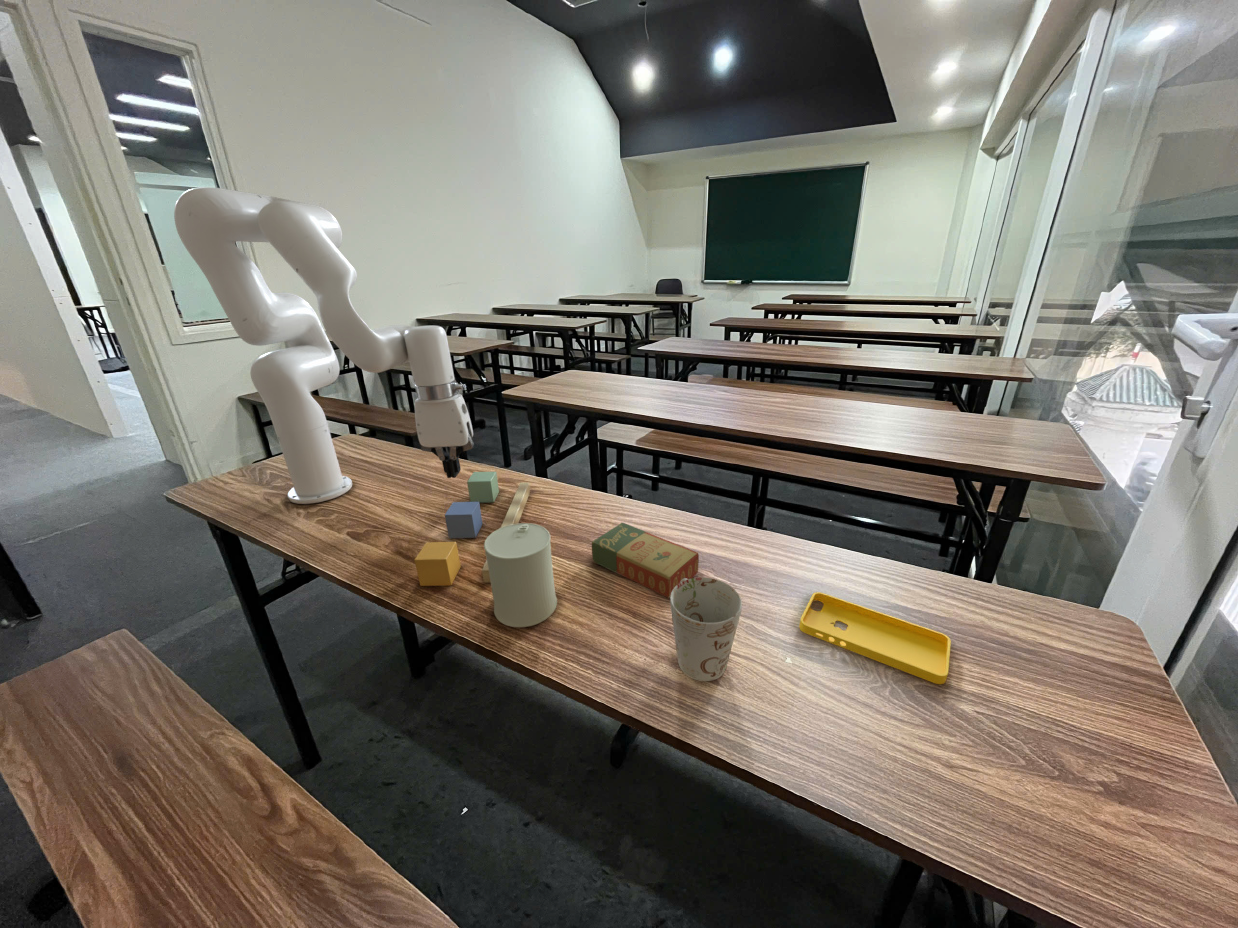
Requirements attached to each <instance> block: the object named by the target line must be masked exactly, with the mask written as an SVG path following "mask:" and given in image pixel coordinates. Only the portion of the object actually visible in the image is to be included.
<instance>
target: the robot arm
mask: <svg viewBox="0 0 1238 928" xmlns="http://www.w3.org/2000/svg"><path fill="white" fill-rule="evenodd" d="M173 217H174V225H175V228H176V232H177V234H178V236H179V239H180V241H181V242H182V244H183V246H184V248H185V249H186V251H187V252H188V254H189V255H190V257H191V258H192V260H193V261H194V262H195V263H196V265H197V267H198V268H199V269H200V270H201V272H202V273H203V275H204V276H205V278H206V280H207V282H208V283H209V285H210V287H211V289H212V291H213V293H214V295H215V297H216V299H217V300H218V302H219V304H220V306H221V308H222V310H223V312H224V313H225V315H226V317H227V319H228V320H229V322H230V324H231V326H232V328H233V329H234V331H235V332H236V334H237V336H238V337H239V338H240V339H241V340H242V341H243V342H245V343H246V344H248V345H251V346H261V347H262V346H269V345H274V344H279V343H284V342H285V343H286V344H287V346H288V347H285V348H281V349H277V350H273V351H270V352H267V353H264V354H262V355H259V357H258V358H256V359H255V360H254V362H253V363H252V365H251V367H250V379H251V382H252V383H253V386H254V388H255V389H256V391H257V393H258V395H259V396H260V398H261V399H262V402H263V403H264V405H265V408H266V409H267V412H268V414H269V417H270V420H271V423H272V426H273V428H274V432H275V434H276V439H277V440H278V443H279V446H280V450H281V453H282V456H283V459H284V462H285V464H286V468H287V470H288V475H289V477H290V480H291V483H292V486H293V487H292V488H291V489H290V490H289V491H288V493H287V498H288V500H289V501H290V502H291V503H293V504H297V505H298V504H299V505H310V504H317V503H323V502H326V501H329V500H332V499H336V498H339V497H341V496H342V495H344V494H346V493H347V492H349V491H350V490H351V489H352V487H353V481H352V479H351V478H350V477H349V476H347V475H343V474H342V471H341V468H340V464H339V460H338V456H337V453H336V449H335V446H334V442H333V439H332V434H331V431H330V428H329V424H328V421H327V417H326V415H325V412H324V410H323V408H322V407H321V405H320V404H319V403H318V401H317V400H316V399H315V398H314V397H313V396H312V392H313V391H316V390H319V389H322V388H325V387H328V386H329V385H331V384H333V383H334V382H335V381H337V379H338V377H339V376H340V371H341V370H340V363H339V360H338V356H337V354H336V352H335V349H334V348H333V345H332V343H331V342H330V339H331V341H332V342H333V343H334V345H335V346H336V347H337V348H338V349H339V350H340V351H341V352H342V353H343V354H344V355H345V357H346V358H347V359H349V361H350V362H351V363H353V364H354V365H355V366H356V367H358V368H359V369H361V370H362V371H365V372H368V373H372V374H378V373H383V372H386V371H388V370H391V369H394V368H397V367H399V366H403V365H406V364H408V363H409V366H410V370H411V375H412V380H413V384H414V388H415V394H416V399H415V400H414V419H415V428H416V433H417V439H418V442H419V445H420V450H421V451H423V452H427V453H432V454H433V455H435V456H436V457H437V458H438V459H439V461H442V462H441V463H442V468H443V472H444V474H446V478H447V479H451V478H452V479H455V478H457V477H458V475H459V474H460V472H461V471H462V467H461V463H460V458H459V456H460V455H461V454H462V453H463V452H465V451H469V450H472V449H474V447H475V443H474V441H473V437H474V430H473V425H472V420H471V418H470V412H469V410H468V407H467V405H466V402H465V399H464V397H463V395H462V394H460V393H459V392H463V391H464V384H463V383H457V380H456V378H455V374H454V368H453V361H452V357H451V352H450V351H451V350H450V346H449V341H448V336H447V332H446V330H445V329H444V328H443V326H440V325H420V326H409V325H404V324H392V325H387V326H381V327H377V328H373V329H371V327H369V326H368V324H367V323H366V322H365V321H364V320H363V318H361V317H362V316H360V315H359V313H357V311H356V309H355V308H354V306H353V303H352V301H351V299H350V290H351V289H352V288H353V286H354V285H355V284H356V282H357V280H358V273H357V270H356V269H355V267H354V266H353V265H352V263H350V262H349V260H348V259H347V258H346V257H345V256H344V255H343V253H342V252H341V251H340V250H339V248H340V247H341V246H342V243H343V231H342V228H341V224H340V223H339V221H338V219H337V218H336V217H335V216H334V215H333V214H332V213H331V212H330V211H329V210H327V209H326V208H324V207H322V206H320V205H318V204H312V203H305V202H300V201H295V200H290V199H286V198H281V197H277V196H272V195H267V194H261V193H255V192H254V193H253V192H247V191H241V190H235V189H228V188H221V187H209V186H207V187H206V186H204V187H203V186H202V187H195V188H191V189H188V190H186V191H184V192H183V193H181V195H179V196H178V198H177V201H176V202H175V205H174V213H173ZM237 242H243V243H244V242H247V243H269V244H270V245H271V246H272V247H273V248H274V249H275V251H276V252H277V253H278V254H279V255H280V257H282V259H283V260H284V261H285V262H286V263H287V264H288V265H289V266H290V267H291V269H292V270H293V271H294V272H295V273H296V274H297V276H298V277H299V278H300V279H301V280H302V281H303V282H304V284H305V285H306V286H307V287H308V288H309V289H310V290H311V291H312V293H313V294H314V295H315V297H316V302H317V310H318V313H319V316H318V314H317V312H316V311H315V309H314V307H312V305H310V303H309V302H308V301H307V300H306V299H304V298H303V297H301V296H300V295H298V294H295V293H292V292H285V291H284V292H272V291H271V289H270V287H268V286H269V285H268V284H267V282H266V281H265V278H264V277H263V274H262V272H261V271H260V269H259V267H258V266H257V265H256V264H255V263H254V261H253V260H252V259H251V258H250V257H249V256H248V255H247V254H246V253H245V252H244V251H242V249H240V248H239V247H238V246H237V245H236V244H237ZM319 317H320V318H319ZM329 338H330V339H329ZM448 447H449V449H448Z"/></svg>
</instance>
